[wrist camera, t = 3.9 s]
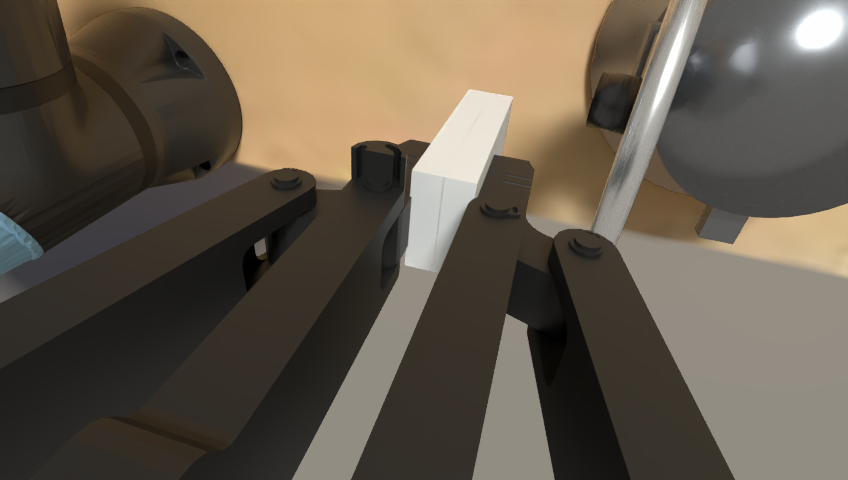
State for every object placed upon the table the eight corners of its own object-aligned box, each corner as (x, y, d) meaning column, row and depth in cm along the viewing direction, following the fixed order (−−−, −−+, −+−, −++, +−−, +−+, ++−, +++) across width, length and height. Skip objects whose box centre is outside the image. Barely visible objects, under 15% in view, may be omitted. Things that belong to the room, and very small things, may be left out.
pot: (560, 167, 37) (556, 223, 30) (647, -143, 26) (671, -169, 19) (828, 218, 33) (892, 294, 26) (1058, -113, 22) (1270, -130, 15)
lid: (617, 196, 28) (575, 185, 28) (721, -81, 20) (659, -86, 21) (572, 363, 17) (506, 337, 18) (761, -103, 9) (626, -113, 10)
